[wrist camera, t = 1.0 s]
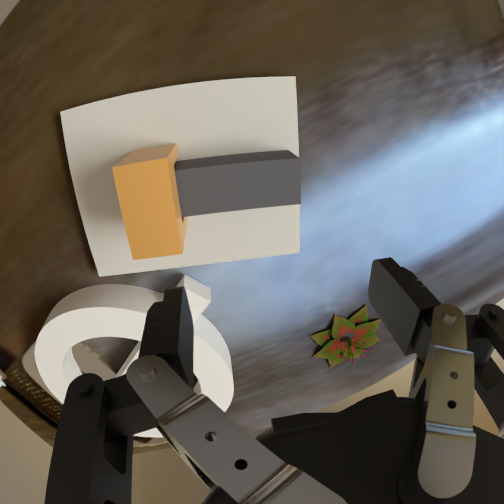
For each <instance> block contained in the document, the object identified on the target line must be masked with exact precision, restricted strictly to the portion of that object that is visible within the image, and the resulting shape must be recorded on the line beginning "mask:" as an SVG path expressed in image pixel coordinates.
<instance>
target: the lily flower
mask: <svg viewBox="0 0 504 504" xmlns="http://www.w3.org/2000/svg"><path fill="white" fill-rule="evenodd" d="M368 320H369V313H368V310H367V305H366V306H365V307H363V308H362V309H361V310H360V311H358V312H357V313H356V314H355V315H354V316H352V317H351V318H350V319H349V320H347V319H345V318H342V317H338V315H336V314H335V317H334V324H333V328H332V329H329V330H326V331H323V332H320V333H317V334H315V335H310V337H312V339H313V340H315V342H316V343H317V344H318V345H320V346H325V347H324V348H323V349H322V350H321V351H319V352H318V353H317V354H316V355H314V356H312V357H318V358H320V357H322V358H324V359H328V361H329V364H330V365H331V366H330V368H331V367H332V366H334V365H336V364H337V363H340V362H342V361H343V360H344V359H345V358H347V359H348V360H347V362H348V361H349V359H352V364H353V359H354V358H359V356H360V355H362V352H363V351H365V352H367V351H366V350H371V348H370V349H364V348H367V347H369V346H371V345H373V344H375V343H376V342H377V341H381V340H379V338H378V336H377V335H376V334H375V332H376V330H377V328H378V326H379V322H380V321H381V319H379V320H376V321H373V322H369V323H367V322H368ZM356 321H357V327H355V324H354V323H355V322H356ZM344 333H355V334H354V337H353V339H352V340H351V339H350V338H349V337H347V338H346V339H345V340H346V342H345V343H343V342H340V340H341V337H342V336H343V334H344ZM330 335H332V337H333V338H335V339H334V340H331V339H330V338H329V337H328V336H330ZM362 356H364V355H362ZM364 357H366V356H364Z"/></svg>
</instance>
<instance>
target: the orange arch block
mask: <svg viewBox="0 0 504 504" xmlns="http://www.w3.org/2000/svg"><path fill="white" fill-rule="evenodd" d="M178 156H179V155H178V147H177V143H175V144H169V145H162V146H156V147H150V148H144V149H139V150H134V151H132V152H131V153H130V154H129V155H127V156H126V157H125V158H123V159H122V160H121V161H119V162H118V163H117V164H116V165H114V166H113V167H112V170H113V175H114V180H115V185H116V190H117V195H118V200H119V204H120V209H121V213H122V218H123V222H124V226H125V230H126V234H127V238H128V242H129V246H130V250H131V254H132V258H133V260H139V259H147V258H155V257H163V256H171V255H179V254H183V249H184V242H185V234H186V228H187V221H188V218H187V217H182V216H181V210H180V203H179V197H178V190H177V184H176V177H175V170H174V164H175V162H176V160H177V158H178Z"/></svg>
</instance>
